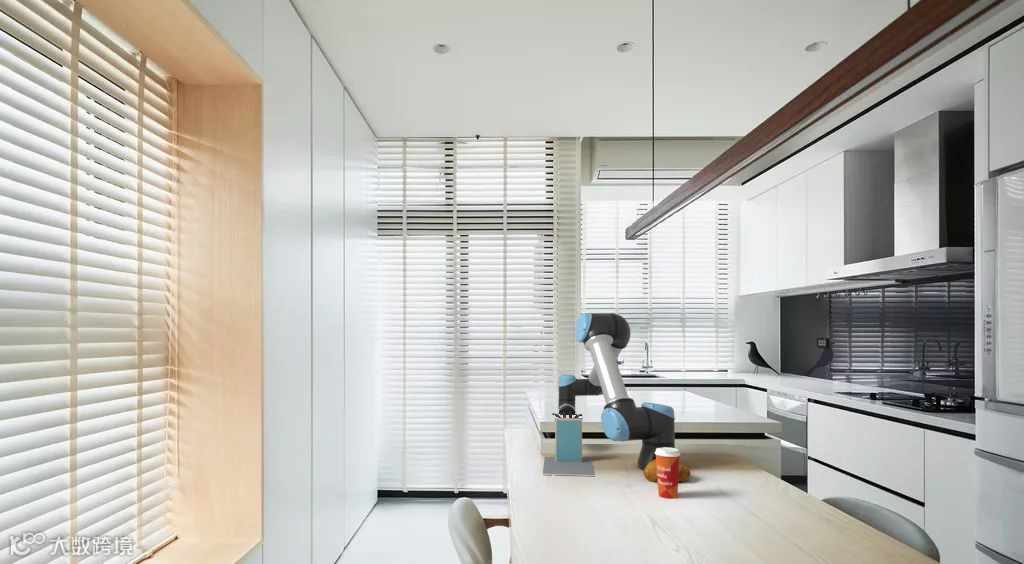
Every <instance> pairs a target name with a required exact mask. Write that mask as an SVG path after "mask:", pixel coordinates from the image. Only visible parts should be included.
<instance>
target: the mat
mask: <svg viewBox="0 0 1024 564" xmlns="http://www.w3.org/2000/svg"><path fill="white" fill-rule="evenodd" d="M543 459H544V460H543V468H542V475H549V476H552V475H555V476H557V477H559V476H560V477H562V476H563V477H579V476H586V477H588V478H589V477H592V478H593V477H596V473H595V470H594V465H593V461H592V457H582V463H575V462H555V456H544V458H543ZM552 477H553V476H552Z"/></svg>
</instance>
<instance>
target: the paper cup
mask: <svg viewBox="0 0 1024 564" xmlns="http://www.w3.org/2000/svg"><path fill="white" fill-rule="evenodd" d="M655 454H656V465H657V480H658V482H657V489H658V492H657V493H658V497H660V498H664V499H668V500H670V499H677V498H678V495H679V493H678V492H679V482H678V476H679V461H680V456H681V453H680V450H679V449H678V448H676V447H675V448H668V447H664V448H657V449H656V452H655Z"/></svg>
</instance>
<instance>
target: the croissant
mask: <svg viewBox="0 0 1024 564" xmlns="http://www.w3.org/2000/svg"><path fill="white" fill-rule="evenodd" d="M690 471H691V470H690V469H689V467H688V466H686V465H684V464H683V463H682V462H681V461H680V460H679V476H678V483H682V482H683V483H684V482H686V481H688V480H689V479H690V476H691V472H690ZM643 475H644V478H645V479H646V480H647V481H648V482H652V483H658V480H657V465H656V459H654V460H652V461H651V462H649V463H648V465H647V466H646V468H645V469H644V470H643Z"/></svg>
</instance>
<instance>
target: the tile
mask: <svg viewBox="0 0 1024 564" xmlns="http://www.w3.org/2000/svg"><path fill="white" fill-rule="evenodd" d="M554 421H555V422H554V423H555V424H554V430H555V431H554V433H555V434H554V435H555V437H554V439H555V440H554V442H555V444H554V445H555V446H554V447H555V451H554V452H555V456H554V457H555V462H575V463H582V458H583V417H582V418H555V420H554Z"/></svg>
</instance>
